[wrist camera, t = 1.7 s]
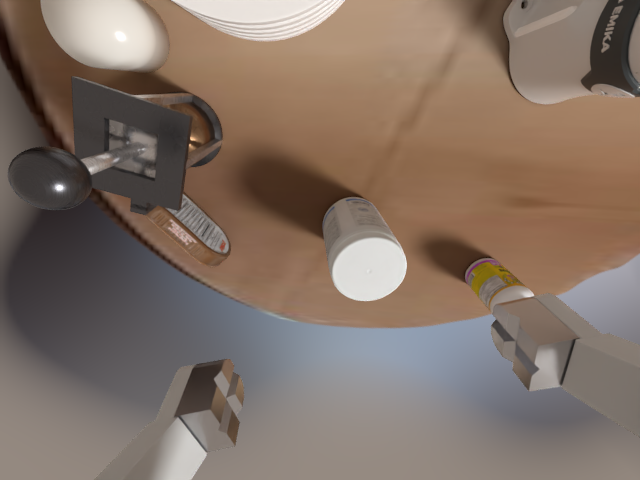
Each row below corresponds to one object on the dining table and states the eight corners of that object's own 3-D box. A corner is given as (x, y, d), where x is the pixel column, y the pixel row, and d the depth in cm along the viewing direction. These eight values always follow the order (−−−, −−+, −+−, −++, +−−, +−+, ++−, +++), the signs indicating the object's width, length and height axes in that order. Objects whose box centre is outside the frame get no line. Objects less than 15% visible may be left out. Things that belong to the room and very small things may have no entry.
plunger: (105, 99, 27) (-56, 107, 15) (181, 124, 28) (89, 150, 16) (105, 168, 30) (-30, 222, 18) (173, 188, 31) (91, 251, 19)
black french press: (153, 80, 37) (71, 76, 24) (228, 107, 39) (190, 116, 26) (146, 171, 42) (77, 207, 29) (213, 190, 44) (175, 233, 31)
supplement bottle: (505, 270, 54) (559, 319, 42) (475, 291, 56) (518, 343, 44) (487, 249, 51) (539, 295, 40) (456, 272, 53) (497, 322, 42)
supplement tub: (341, 256, 51) (353, 315, 38) (310, 215, 47) (313, 264, 34) (390, 228, 48) (421, 279, 35) (362, 183, 45) (386, 221, 32)
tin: (151, 181, 43) (119, 201, 36) (165, 169, 42) (136, 186, 35) (225, 250, 49) (211, 279, 42) (239, 240, 48) (227, 267, 41)
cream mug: (176, 71, 37) (140, 67, 29) (115, 73, 36) (62, 69, 28) (155, -24, 32) (106, -61, 24) (86, -24, 32) (13, -60, 24)
